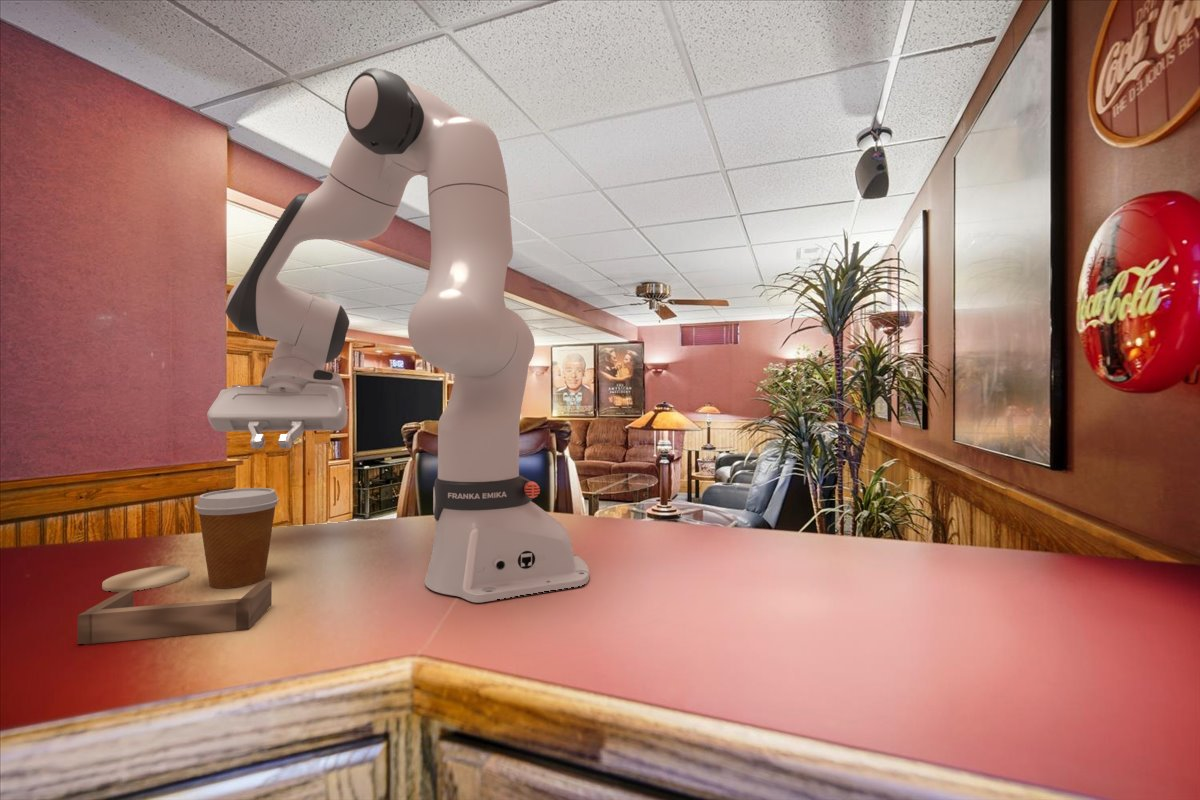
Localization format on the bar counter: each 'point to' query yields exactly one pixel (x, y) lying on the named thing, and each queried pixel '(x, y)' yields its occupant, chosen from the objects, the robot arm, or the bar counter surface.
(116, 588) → the cork coaster
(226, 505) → the disposable coffee cup
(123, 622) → the walnut bay
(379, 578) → the bar counter surface
